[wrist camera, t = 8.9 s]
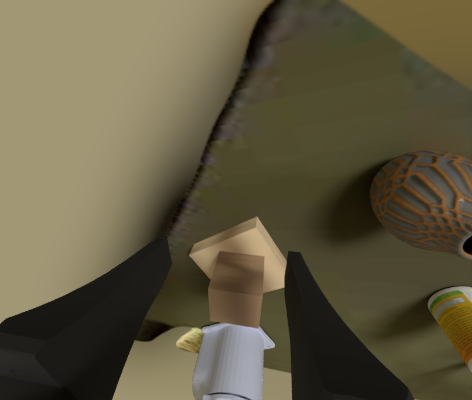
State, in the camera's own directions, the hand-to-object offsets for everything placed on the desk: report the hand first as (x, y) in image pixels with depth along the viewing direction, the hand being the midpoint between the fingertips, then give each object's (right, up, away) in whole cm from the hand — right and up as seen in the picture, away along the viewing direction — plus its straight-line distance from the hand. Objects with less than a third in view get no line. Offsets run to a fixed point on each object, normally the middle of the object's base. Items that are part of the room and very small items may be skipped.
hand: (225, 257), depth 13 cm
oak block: (+2, -3, +14) cm, 15 cm away
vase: (+15, +5, +7) cm, 18 cm away
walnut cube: (+1, -5, +12) cm, 13 cm away
